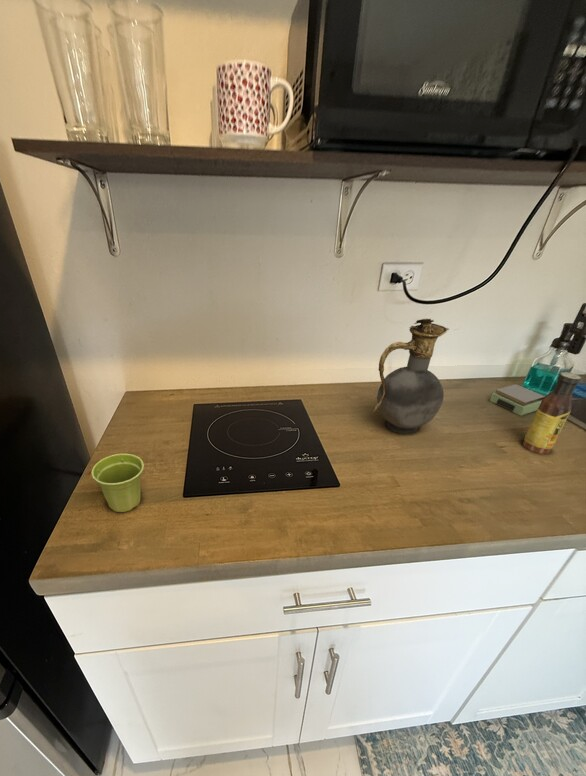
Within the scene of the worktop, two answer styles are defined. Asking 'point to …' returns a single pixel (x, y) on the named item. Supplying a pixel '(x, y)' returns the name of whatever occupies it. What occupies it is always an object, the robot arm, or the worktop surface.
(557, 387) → the sauce bottle
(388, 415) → the pitcher
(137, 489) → the plant pot
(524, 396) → the scale platform
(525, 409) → the scale
